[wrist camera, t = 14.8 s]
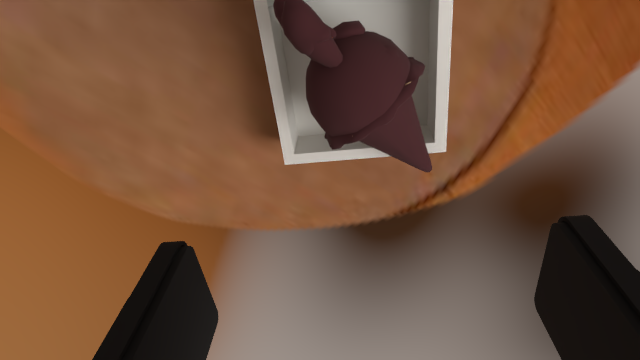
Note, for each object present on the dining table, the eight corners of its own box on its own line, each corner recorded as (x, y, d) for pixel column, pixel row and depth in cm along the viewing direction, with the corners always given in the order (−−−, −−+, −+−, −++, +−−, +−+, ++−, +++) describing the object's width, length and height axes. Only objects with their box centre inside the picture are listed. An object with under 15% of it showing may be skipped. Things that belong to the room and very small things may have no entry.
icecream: (502, 156, 24) (352, -61, 17) (408, 232, 25) (232, 62, 18) (447, 117, 30) (319, -56, 23) (373, 181, 31) (230, 37, 24)
